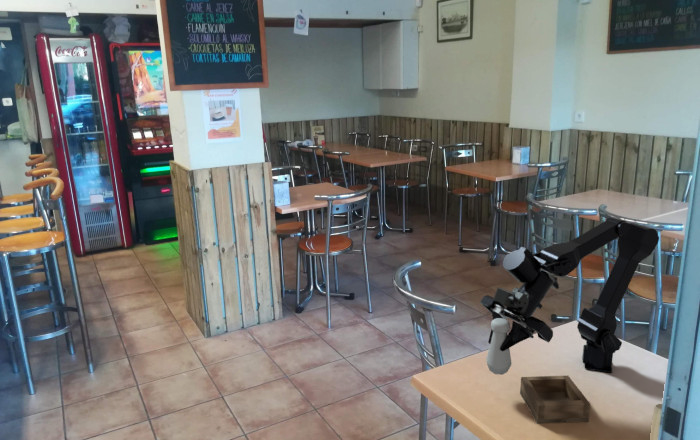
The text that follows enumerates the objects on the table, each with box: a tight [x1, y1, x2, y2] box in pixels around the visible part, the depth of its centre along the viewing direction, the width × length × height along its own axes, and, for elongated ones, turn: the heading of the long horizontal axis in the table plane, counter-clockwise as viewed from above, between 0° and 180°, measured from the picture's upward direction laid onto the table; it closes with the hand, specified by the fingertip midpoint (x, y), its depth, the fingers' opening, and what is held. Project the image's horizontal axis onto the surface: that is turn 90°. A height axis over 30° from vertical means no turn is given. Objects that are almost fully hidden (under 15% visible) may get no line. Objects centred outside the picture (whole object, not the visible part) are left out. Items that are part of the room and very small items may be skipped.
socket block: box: [519, 375, 591, 424], centre depth 120 cm, size 11×11×4 cm
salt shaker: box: [486, 318, 513, 375], centre depth 122 cm, size 6×6×13 cm
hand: (495, 347), depth 122 cm, fingers closed on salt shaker, 3 cm apart
